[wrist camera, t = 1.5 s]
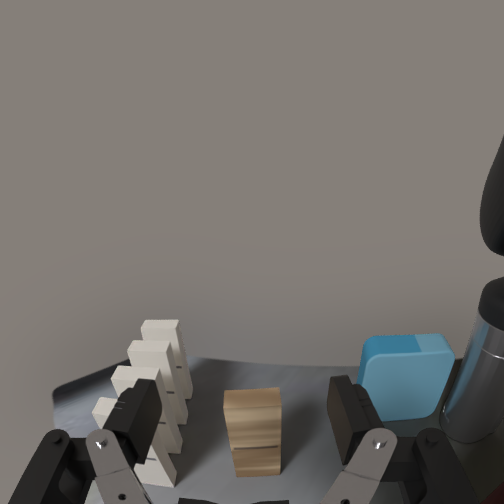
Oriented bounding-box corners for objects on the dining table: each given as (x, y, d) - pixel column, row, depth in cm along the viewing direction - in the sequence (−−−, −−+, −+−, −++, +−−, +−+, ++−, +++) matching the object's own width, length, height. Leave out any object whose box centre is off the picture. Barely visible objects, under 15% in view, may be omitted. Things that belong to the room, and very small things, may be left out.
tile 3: (180, 454, 29) (154, 382, 26) (144, 450, 29) (110, 378, 26) (183, 440, 32) (159, 367, 28) (147, 437, 32) (118, 365, 28)
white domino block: (186, 424, 34) (165, 352, 31) (152, 422, 34) (127, 350, 31) (188, 412, 37) (170, 340, 33) (156, 411, 37) (133, 340, 33)
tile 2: (174, 487, 24) (139, 420, 20) (134, 481, 24) (91, 413, 20) (176, 472, 26) (146, 402, 23) (138, 467, 26) (100, 396, 23)
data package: (425, 397, 34) (447, 331, 31) (432, 417, 30) (458, 350, 27) (352, 401, 37) (364, 334, 34) (353, 423, 33) (368, 355, 29)
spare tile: (280, 474, 26) (281, 405, 22) (236, 477, 26) (223, 408, 22) (278, 459, 28) (278, 387, 25) (236, 461, 28) (224, 390, 25)
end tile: (191, 399, 40) (175, 328, 36) (160, 397, 40) (140, 328, 36) (193, 389, 42) (179, 319, 39) (163, 388, 42) (145, 319, 39)
